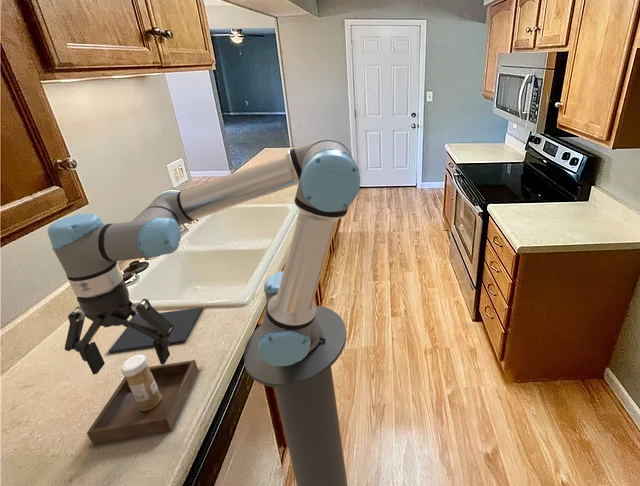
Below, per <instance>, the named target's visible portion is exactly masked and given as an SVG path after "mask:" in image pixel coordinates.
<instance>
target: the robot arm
mask: <svg viewBox="0 0 640 486" xmlns="http://www.w3.org/2000/svg"><path fill="white" fill-rule="evenodd" d="M294 186H297V189H296V191H295V197H294V205H295V207H297V209H298V213H297V218H296V222H295V225H294V230H293V233H292V237H291V241H290V244H289V247H288V248H289V249H288V251H287V256H286V259H285V264H284V268H283V270H282V271H281V270H280V271H278V272H276V273H274V274H272V275H270V276H268V278H266V280H265V281H264V285H263V292H264V294H265V307H264V312H263V318H262V323H261V324H262V329H261V334H260V339H259V341H258V353H259V356H260V358H261V359H262V360H264V361H265V362H266V363H268V364H271V365H274V366H288V365H292V364H294V363H296V362H299V361H301V360H302V359H303V358H304V357H305V356H307V355H309V354H310V353H311V352H313V351H314V350H315V349H316V348H317V347H318V345H319V344H320V342H321V341H324V342H325V340H326V339H324V338H322V328H321V325H320V323H319V322H318V320H317V319H316V317H315V315H316V312H317V307H316V306H317V305H316V303H315V301H314V300H315V298H316V297H315V296H316V293H317V290H318V287H319V283H320V280H321V276H322V273H323V270H324V267H325V263H326V260H327V257H328V253H329V250H330V246H331V243H332V240H333V236H334V233H335V230H336V227H337V223H338V220H340V219H342V218H344V217H346V216H347V213H348V211H349V207H350V205H351V204H352V203H354V201H355V200H356V198H357V197H358V194H359V191H360V188H361V175H360V170H359V167H358V165H357V162H356V161H355V159H354V157H353V155H352V153H351V150H350V149H349V148H348V147H347V146H346V144H345V143H343V142H341V141H340V140H337V139H334V138H328V137H327V138H326V137H325V138H324V137H323V138H319V139H316V140H313V141H310V142H308V143H305V144H302V145H300V146H299V145H298V146H297V147H294V148H291V149H288V151H287V152H286V155H284V156H281V157H277V158H275V159H271V160H269V161H266V162H262V163H260V164H257V165H254V166H250V167H247V168H245V169H242V170H239V171H237V172H234V173H231V174H227V175H224V176H221V177H219V178H215V179H212V180H210V181H207V182H203V183H201V184H197V185H195V186H191V187H189V188H185V189H183V190H180V191H177V190H169V191H166V192H163V193H162V194H160V195H158V196H156V198H155V199H153V201H152V202H151V203H150V204H149V205H147V207H146V208H144V210H142V211H141V212H140V213H138V215H137V216H136V217H134V218H133V219H132V220H130V221H124V222H117V223H104V221H103V220H102V219H101V217H100V216H99V214H96V213H87V212H86V213H78V214H74V215H70V216H67V217H63V218H61V219H59V220H57V221H55V222H53V223H51V224H50V225H49V227H48V229H47V235H48V238H49V240H50V243H51V249H52V251H53V252H54V254H55V255H56V257H57V259H58V261H59V263H60V265H61V267H62V268H63V271H64V273H65V276H66V278H67V280H68V282H69V284H70V287H71V289H72V291H73V293H74V295H75V297H76V301H77V303H78V306H76V307H75V308H74V309H73V310H72V311H71V312H70V313H69V314H68V315H67V319H68V321H69V326H68V330H67V334H66V339H65V344H64V350H65V351H66V352H70V351H72V350H74V351H75V352H76V353H79V355H80V357H81V359H82V361H83V362H86V363H87V365H88V367H89V369H90V371H91V373H92V375H98V374H99V372H100V371H101V370H102V368H103V367H104V366H105V365H106V362H105V360H104V358H103V356H102V354H101V352H100V349H99V348H98V345H97V343H96V341H92V340H93V338H94V337H95V335H96V334H97V332H98V331H99V329H100V327H103V328H104V329H105V328H110V327H120V326H123V327H125V328H127V327H132V328H134V329H135V330H137V331H139V332H141V333H143V334H145V335H147V336H149V337H151V338H153V339H155V340H154V342H153V345H154V347H153V348H154V350H155V352H156V356H157V358H158V361H159V363H160V365H165V364H166V362H167V361H168V359H169V357H170V355H171V352H170V349H169V347H170V345H171V344H170V342H169V339H168V337H170V335H171V334H172V332H173V330H174V329H175V327H174V326H173V325H172V324H171V323H170V322H169V321H168V320H167V319H165V318H164V317H163V316H162V315H161V314H160V313H161V312H159V311H157V309H155V308H154V307H153V306H152V305H151V303H150V301H149V299H147V298H143V299H142V300H141V301H138V302H132V301H131V300H130V291H129V289H128V287H127V284H126V281H125V280H124V277H123V276H124V275H123V273H122V271H121V269H120V266H119V263H118V262H121V261H130V260H138V259H139V260H140V259H146V258H147V259H149V258H156V257H160V256H165V255H170V254H172V253H173V254H174V252H176V251H177V250H178V248H179V247H180V242H181V236H182V235H181V228H180V226H182V225H185V224H188V223H191V222H193V221H196V220H199V219H202V218H205V217H207V216H210V215H213V214H216V213H219V212H221V211H222V212H223V211H224V210H226V209H227V210H228V209H230V208H233V207H237V206H239V205H242V204H245V203H248V202H250V201H254V200H256V199H257V200H258V199H260V198H262V197H265V196H269V195H271V194H273V193H277V192H279V191H282V190H285V189H288V188H292V187H294ZM130 316H131V318H130ZM86 318H87V320H90V321H91V322H92V323H91V324H90V325H89V327H88V329H87V331H86V333H85V334H84V335H83V337H82V339H81V336H82V333H83V327H84V325H85V324H84V323H85V319H86ZM129 318H130V320H129ZM158 332H159V334H158Z"/></svg>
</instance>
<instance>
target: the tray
mask: <svg viewBox="0 0 640 486" xmlns="http://www.w3.org/2000/svg"><path fill="white" fill-rule="evenodd" d="M148 367H149V369H150V372H151V373H152V375H153V378H154V380H155V382H156V384H157V387H158V390H159V392H160V394H161V395H162V399H161V401H160V402H159V404H158V405H157V406H156V407H154V408H152V409H151V410H148V411H141V410H140V409H139V404H138V402H137V401H136V399H135V397H134V395H133V393H132V391H131V389H130V387H129V384H128V381H127V379H126V377H125V376H124V377H123V379H122V380H121V381H120V383H119V385H118V386H117V387H116V389H115V391H114V392H113V394H112V395H111V396H110V398H109V399H108V401H106V404H105V405H104V407H103V408H102V410H101V411H100V413H99V414H98V416H97V417H96V419H95V420H94V421H93V423H92V424H91V426H90V428H89V429H88V430H87V432H86V435H87V437H88V438H89V440H90V442H91V443H92V446H95V445H96V446H97V445H100V444H107V443H111V442H112V443H113V442H119V441H124V440H129V439H134V438H139V437H145V436H150V435H156V434H161V433H167V432H172V431H173V429H174V426H175V424H176V422H177V419H178V418H179V415H180V413H181V411H182V408H183V406H184V404H185V402H186V400H187V398H188V395H189V394H190V391H191V388H192V387H193V384H194V383H195V379H196V377H197V376H198V373H199V367H198V364H197V362H196V359H193V360H185V361H179V362H173V363H172V362H171V363H167V364H166V363H165V364H162V365H161V364H159V365H153V366H148Z"/></svg>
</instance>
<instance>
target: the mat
mask: <svg viewBox="0 0 640 486" xmlns="http://www.w3.org/2000/svg"><path fill="white" fill-rule="evenodd" d="M203 310H204V308H203V307H196V308H195V307H193V308H187V309H179V310H172V311H171V310H170V311H165V312H159V313H160V314H161V315H162V316H163V317H164V318H165V319H167V320H168V321H169V322H170V323H171V324H172V325H173V326H174V327H175V329H174V330H173V332H172V334H171V335H170V337H168V339H169V342H170V345H175V344H181V343H186V341H187V339H188V337H189V336H190V334H191V332H192V331H193V329H194V327H195V325H196V323H197V321H198V319H199V317H200V315H201V314H202V312H203ZM158 334H159V332H158ZM154 340H155V339H153V338H151V337H149V336H147V335H145V334H143V333H141V332H139V331H137V330H135V329H134V328H132V327H125V330H123V332H122V334H121V335H120V336H119V337H118V338H117V339H116V341H115V342H114V344H113V345H112V346H111V347H110V348H109V349H108V352H109V353H108V354H112V353H119V352H126V351H133V350H140V349H146V348H154V345H153V342H154Z"/></svg>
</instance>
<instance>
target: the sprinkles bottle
mask: <svg viewBox="0 0 640 486" xmlns="http://www.w3.org/2000/svg"><path fill="white" fill-rule="evenodd" d="M149 367H150V366H149V363H148V359H147V357H146V355H144V354H136V355H133V356H131V357H129V358H127V359H126V360H125V361H123V363H122V364H121V366H120V370H121V373H122V375H123V376H124V377H126V379H127V381H128V384H129V387H130V389H131V391H132V393H133V395H134V397H135V399H136V401H137V402H138V404H139V409H140V410H141V411H148V410H151V409H152V408H154V407H156V406H157V405H158V404H159V402H160V401H161V399H162V395H161V394H160V392H159V390H158V387H157V384H156V382H155V380H154V378H153V375H152V373H151V372H150V369H149Z"/></svg>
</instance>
